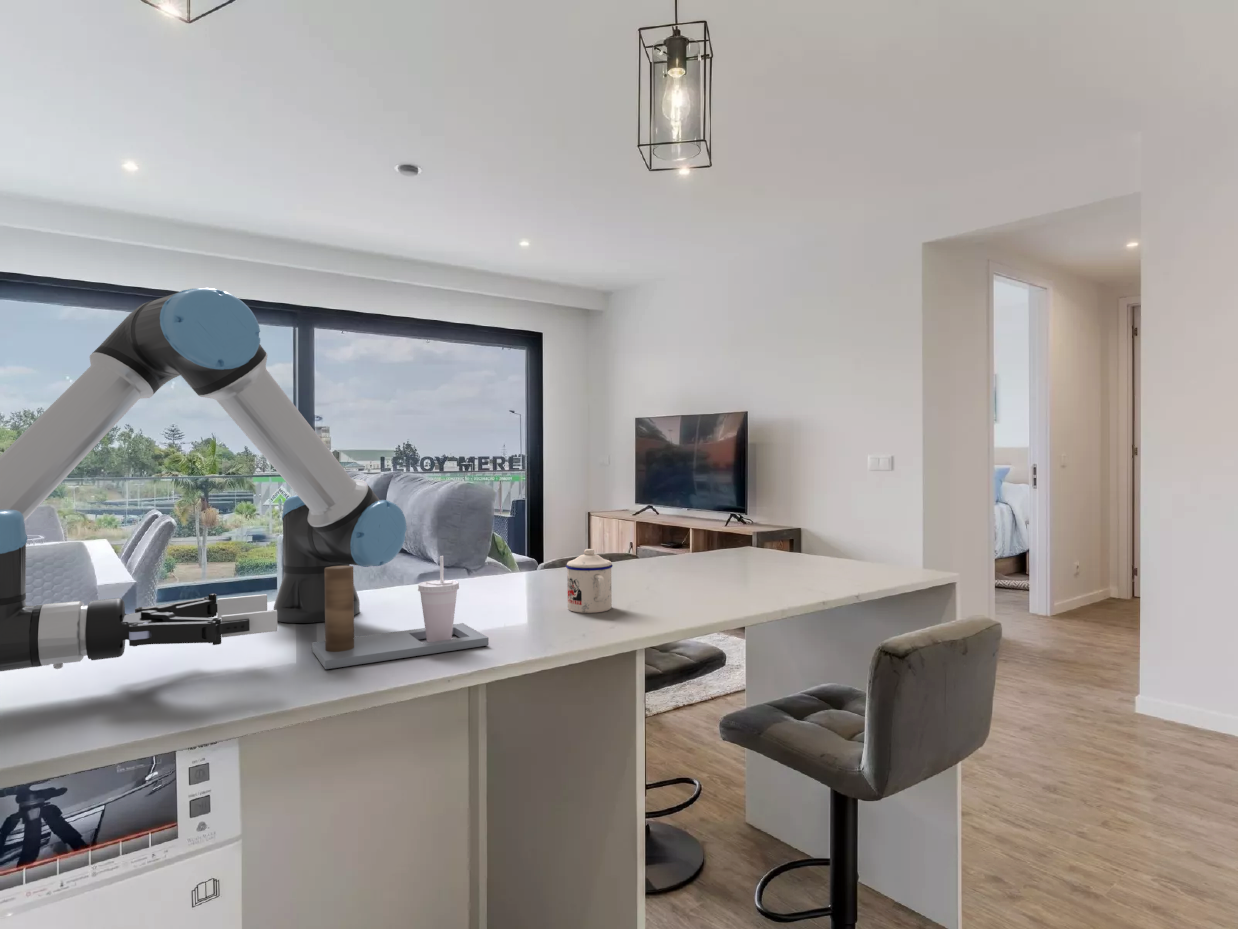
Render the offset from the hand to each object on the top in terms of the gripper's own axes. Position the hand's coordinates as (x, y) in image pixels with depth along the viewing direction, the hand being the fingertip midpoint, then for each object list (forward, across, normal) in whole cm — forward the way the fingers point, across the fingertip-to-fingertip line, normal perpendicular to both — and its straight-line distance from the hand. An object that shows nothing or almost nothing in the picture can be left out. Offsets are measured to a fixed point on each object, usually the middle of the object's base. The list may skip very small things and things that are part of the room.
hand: (272, 611), depth 102 cm
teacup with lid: (+57, -9, -8) cm, 58 cm away
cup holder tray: (+18, 0, -8) cm, 20 cm away
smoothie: (+24, 0, -8) cm, 25 cm away
